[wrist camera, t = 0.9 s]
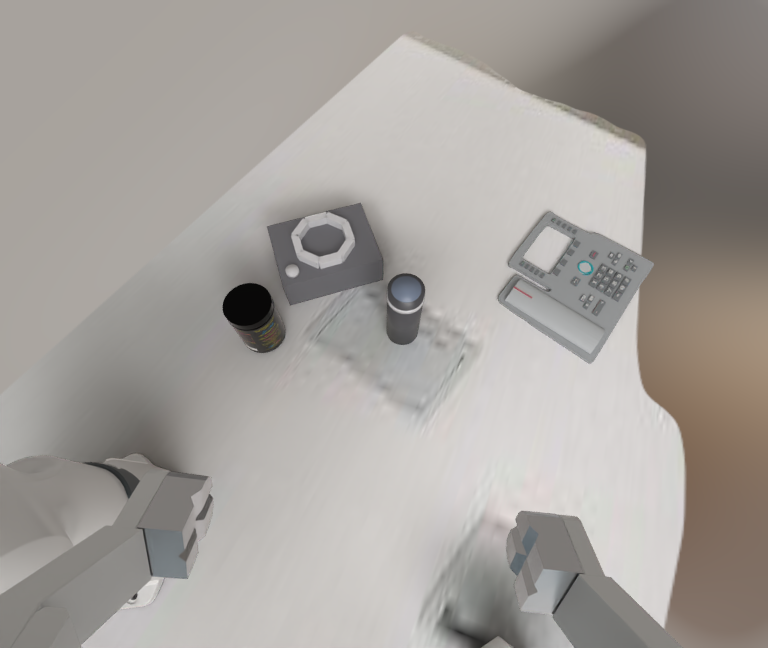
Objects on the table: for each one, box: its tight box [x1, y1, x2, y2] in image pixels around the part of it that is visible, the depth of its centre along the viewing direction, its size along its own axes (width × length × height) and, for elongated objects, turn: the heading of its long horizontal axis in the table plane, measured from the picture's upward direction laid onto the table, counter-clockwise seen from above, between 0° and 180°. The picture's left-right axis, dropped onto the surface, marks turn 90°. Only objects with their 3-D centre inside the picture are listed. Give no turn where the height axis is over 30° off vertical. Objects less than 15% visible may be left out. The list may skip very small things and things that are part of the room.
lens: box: [387, 274, 425, 345], centre depth 64 cm, size 5×5×13 cm
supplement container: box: [223, 283, 285, 353], centre depth 65 cm, size 7×7×10 cm
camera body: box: [267, 203, 383, 305], centre depth 72 cm, size 16×12×8 cm
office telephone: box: [498, 212, 654, 364], centre depth 74 cm, size 23×3×20 cm
